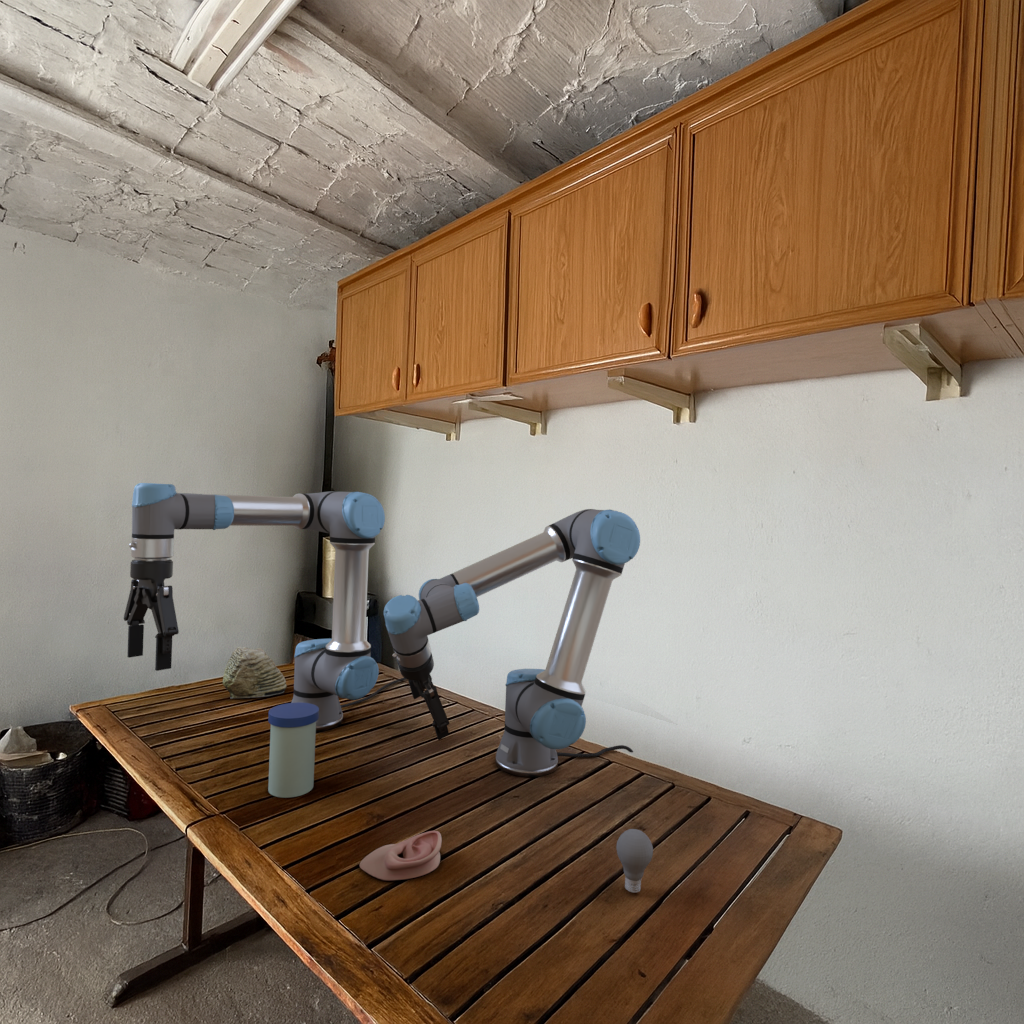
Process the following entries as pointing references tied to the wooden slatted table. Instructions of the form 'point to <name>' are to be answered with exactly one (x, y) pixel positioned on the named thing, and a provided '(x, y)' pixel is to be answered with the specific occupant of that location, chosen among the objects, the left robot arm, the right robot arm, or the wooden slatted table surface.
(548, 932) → the wooden slatted table surface
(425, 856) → the anatomical model
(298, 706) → the lid
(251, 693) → the fossil
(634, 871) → the light bulb
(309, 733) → the jar
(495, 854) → the wooden slatted table surface
